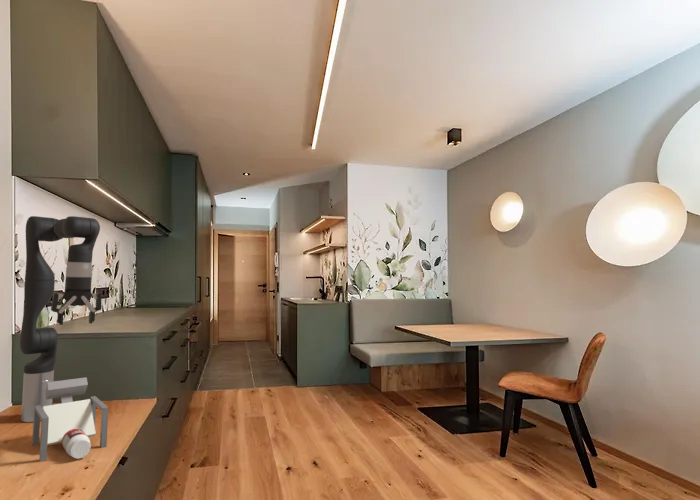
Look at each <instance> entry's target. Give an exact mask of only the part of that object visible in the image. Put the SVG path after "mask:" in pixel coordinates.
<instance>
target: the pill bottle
mask: <svg viewBox="0 0 700 500" xmlns="http://www.w3.org/2000/svg"><path fill="white" fill-rule="evenodd" d="M61 446H62V447H63V448H64V450H65V452H66V454H68V456H70V457H72V458H74V459H83V458H84V457H86V456H87V455H88V454H89V453H90V450H91V439H90V438H89V437H88V436H87V435H86V434H85V433H84V432H83V431H82V430H81V429H78V428H74V429H71V430H69V431H67V432H66V433H65V434H64V436H63V438H62V443H61Z"/></svg>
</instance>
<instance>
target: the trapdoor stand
mask: <svg viewBox="0 0 700 500" xmlns="http://www.w3.org/2000/svg"><path fill="white" fill-rule="evenodd" d="M89 399H90V401H91V407H92V413H93V420H94V426H95V427H96V416H97V415H96V410H97V409H96V408H98V409H100V411H101V415H100V416H101V417H100V435H99V437H100V440H99V447H100V448H101V449H102V448H107V445H108V443H107V442H108V440H107V439H108V426H109V425H108V424H109V407H108V406H107V405H106V404H105V403H104V402H103V401H102V400H101V399H99V398H98V397H97V396H95V395H93V396H90V398H89ZM40 419H41V421H40ZM32 423H33V424H32V440H31V443H32V445H31V446H32V447H34V446H38V445H39V444H40V446H39V462H41V463H42V462H44V461H47V459H48V458H47V457H48V455H47V454H48V445H47V442H48V423H49V417H48V416H47V414H46V413H45V411H44V410H43V408H42V407H41V405H34V421H33V422H32Z"/></svg>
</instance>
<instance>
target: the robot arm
mask: <svg viewBox="0 0 700 500" xmlns="http://www.w3.org/2000/svg"><path fill="white" fill-rule="evenodd" d="M100 230H101V225H100V223H99V221H98V220H97V219H96V218H92V217H84V216H75V215H72V216H67V217H66V218H62V219H61V218H60V219H57V218H55V217H54V218H53V217H46V216H45V217H44V216H36V215H33V216H29V217H28V219H27V220H26V224H25V249H26V250H25V253H26V256H25V257H26V261H25V275H24V288H23V289H24V291H23V292H24V293H23V296H24V299H23V300H24V301H23V302H24V303H23V315H22V323H21V328H20V329H21V330H20V338H19V347H20V350H21V353H22V354H24V355H36V354H40V355H39V356H38V357H37V358H36V359H34V360H32V361H30V362H27V363H26V364H25V365H24V367H23V382H22V397H21V398H22V399H21V401H22V402H21V411H20V413H21V414H20V415H21V416H20V421H21V422H24V423H33V421H34V405H41V407H42V408H43V406H49V405H53V399H47V400H46V396H45V390H46V386H47V382H54V381H55V380H54V377H55V376H54V375H55V373H54V372H55V365H56V359H57V352H58V343H59V342H58V340H59V339H58V338H59V335H58V331H57V330H56V329H55V327H51V326H50V327H38V328H37V323H38V318H39V316H40V314H41V313H42V311H43V309H44V308H45V307H46V306H47V304H48V303H49V302H50V300H51V299H52V300H51V306H50V311H51V312H54V313H57V318H56V322H57V323H58V325H60V326H63V325H64V315H65V314H64V312H65V311H66V310H67V309H68V308H69V307H77V306H78V307H79V306H80V307H84V306H85V307H86V308H87V309H88V310H89V313H88V324H93V322H95V320H96V319H95V317H96V312H99V311H101V310H102V308H103V307H102V293H101V292H96V293H92V281H93V265H92V264H93V262H92V261H93V251H94V248H95V245H96V241H97V239H98V237H99V234H100ZM74 238H80V239H84V240H83V242H82V243H78V244H72V245H69V247H68V251H67V264H66V267H65V268H66V269H65V282H64V284H65V285H64V292H63V293H57V292H55V286H56V285H55V280H56V278H55V277H56V276H55V273H54V271H53V270H52V267H50V265H49V264H48V263H47V261H46V259H45V258H44V256H43V254H42V252H41V249H40V243H39V242H57V241H60V240H62V239H74ZM92 297H93V299H94V300H95V307H94V306H93V305H92V303H91V302H90V300H91V298H92ZM61 298H63V299H64V302H63V303H62V304H61V306H60V307H59V308H58V302H59V300H61ZM40 422H42V421H41V419H40Z"/></svg>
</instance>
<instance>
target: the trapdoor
mask: <svg viewBox="0 0 700 500" xmlns="http://www.w3.org/2000/svg"><path fill="white" fill-rule="evenodd" d="M88 385H89V383H88V378H87V377H79V378H71V379H63V380H53V382H47V386H46V390H45V396H46V400H47V399H52V400H53V399H59V398H60V403H57V404H56V403H55V404H52V405H49V406H43V410H44V411H45V413H46V414H47V416H48V417H49V423H48V442H47V446H51V445H56V444H62V438H63V436H64V434H65V433H66V432H67V431H69V430H71V429H74V428H78V429H81V430H82V431H83V432H84V433H85V434H86V435H87V436H88V438H89V437H94V436H96V435H97V434H96V433H97V432H96V425H95V426H94V420H93V413H92V407H91V401H90V398H87V399H83V400H75V401H74V400H73V399H74V398H73V397H74V396H78V395H79V396H80V395H86V392H87V389H88Z"/></svg>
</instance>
